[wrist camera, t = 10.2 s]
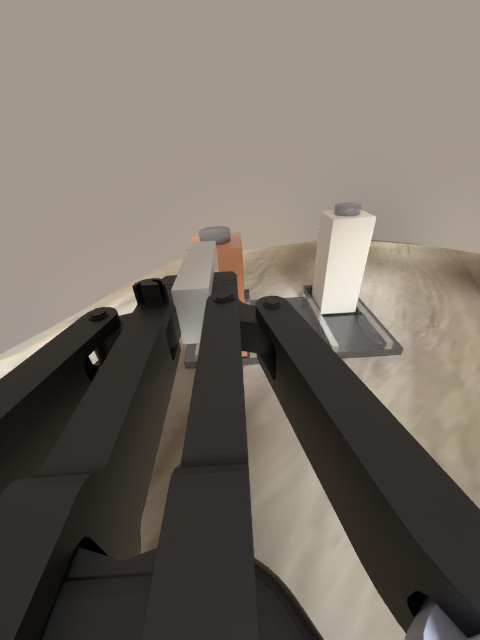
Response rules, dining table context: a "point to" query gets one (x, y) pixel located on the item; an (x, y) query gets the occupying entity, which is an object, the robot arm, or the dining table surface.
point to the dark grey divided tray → (331, 331)
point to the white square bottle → (341, 257)
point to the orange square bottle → (226, 253)
